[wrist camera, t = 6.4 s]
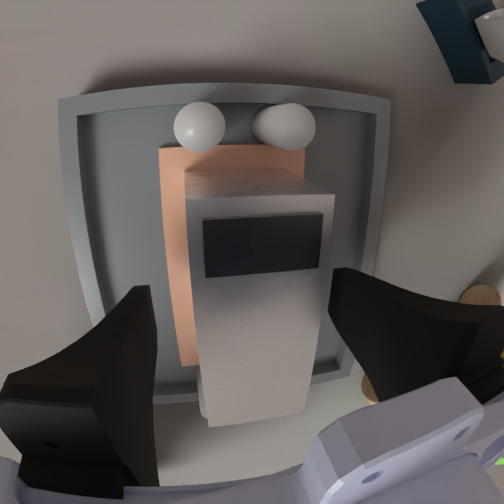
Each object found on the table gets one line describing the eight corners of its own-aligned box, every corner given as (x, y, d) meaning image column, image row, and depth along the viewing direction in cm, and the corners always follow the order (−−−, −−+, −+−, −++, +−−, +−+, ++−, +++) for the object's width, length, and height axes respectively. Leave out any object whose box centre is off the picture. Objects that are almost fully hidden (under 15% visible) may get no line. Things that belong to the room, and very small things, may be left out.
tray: (336, 356, 20) (363, 399, 16) (123, 381, 17) (118, 434, 14) (368, 100, 14) (422, 99, 10) (74, 101, 11) (34, 96, 7)
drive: (273, 341, 16) (305, 415, 12) (198, 350, 16) (209, 431, 11) (281, 167, 13) (338, 196, 8) (184, 170, 12) (185, 201, 7)
